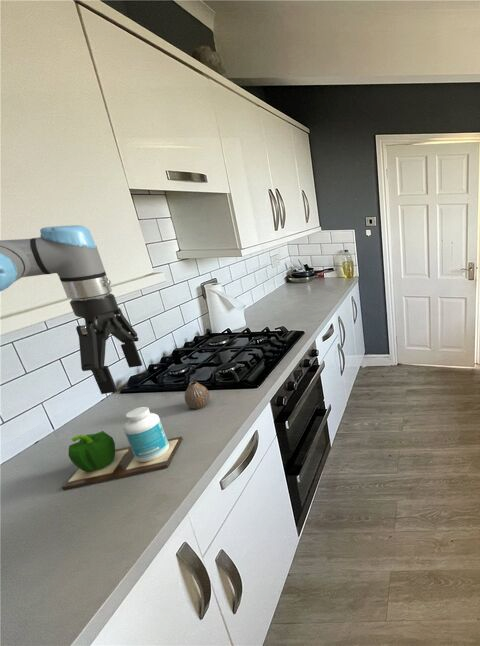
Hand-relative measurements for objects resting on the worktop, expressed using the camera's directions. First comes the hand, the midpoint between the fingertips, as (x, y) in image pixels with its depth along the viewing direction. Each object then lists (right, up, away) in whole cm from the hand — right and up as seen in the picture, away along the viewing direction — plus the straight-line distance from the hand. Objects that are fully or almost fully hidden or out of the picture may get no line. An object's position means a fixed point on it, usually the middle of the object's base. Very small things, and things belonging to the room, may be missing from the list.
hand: (123, 378), depth 86 cm
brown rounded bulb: (-2, -15, +32) cm, 35 cm away
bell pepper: (-11, -24, +5) cm, 26 cm away
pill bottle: (+1, -22, +9) cm, 24 cm away
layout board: (-5, -24, +7) cm, 25 cm away
